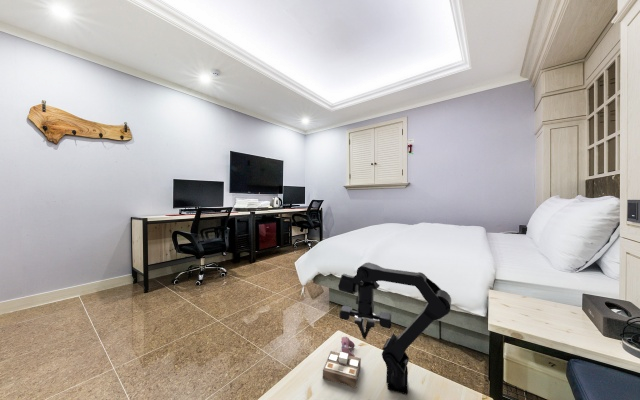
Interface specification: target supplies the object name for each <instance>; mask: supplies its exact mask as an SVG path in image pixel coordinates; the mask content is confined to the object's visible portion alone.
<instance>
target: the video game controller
mask: <svg viewBox="0 0 640 400" xmlns="http://www.w3.org/2000/svg"><path fill="white" fill-rule="evenodd" d="M340 342H341V352H343V353H347V354H348V355H349V356H354V357H356V356H355V355H354V354H353V353H352V352H351V350H350V348H352V349H354V348H355V346H356V345H355V343H354V342H353V341H352V340H351V339H350V338H349V337H348V336H343V337H341V341H340Z"/></svg>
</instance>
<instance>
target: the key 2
mask: <svg viewBox="0 0 640 400" xmlns="http://www.w3.org/2000/svg"><path fill="white" fill-rule="evenodd" d="M349 366H353V367H356V368H358V366H359V361H357V360H353V359H351V360H350V364H349Z"/></svg>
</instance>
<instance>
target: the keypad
mask: <svg viewBox="0 0 640 400" xmlns="http://www.w3.org/2000/svg"><path fill="white" fill-rule="evenodd" d="M340 353H341V352H336V351H332V350H331V351H330V352H329V354H328V357H327V359H326V361H325V364H324V366H323V368H322V379H325V380H328V381H331V382H334V383H338V384H341V385H345V386H348V387H352V388H355V389H357V385H358V381H359V380H358V379H359V375H360V369H361V366H362V365H361V361H362V358H361V357H357V356H355V355H354V356H355V357H354V356H349V355H348V363H347V365H345V364H341V363H339V355H340ZM330 354H333V355H337V356H338V360H337V362H333V361H329V357H330ZM351 359H353V360H357V361H359V366H358V368H356V367H353V366H349V364H350V360H351Z"/></svg>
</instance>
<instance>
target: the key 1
mask: <svg viewBox="0 0 640 400" xmlns="http://www.w3.org/2000/svg"><path fill="white" fill-rule="evenodd" d="M329 354H330V353H329ZM328 357H329V356H328ZM337 360H338V356H337V355H333V354H330V357H329V361H333V362H337Z"/></svg>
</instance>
